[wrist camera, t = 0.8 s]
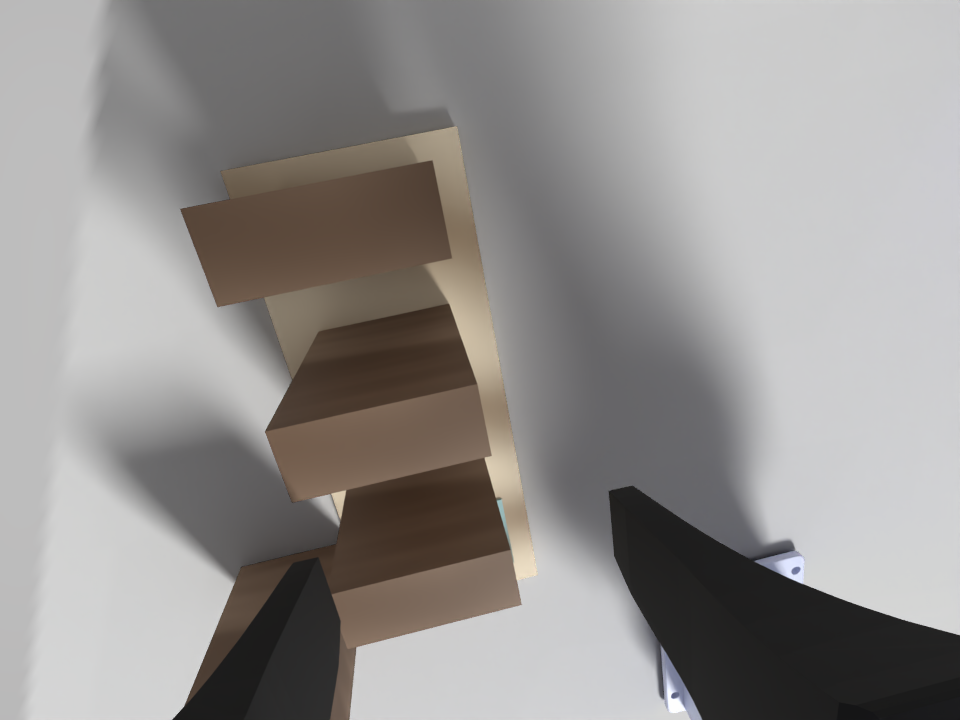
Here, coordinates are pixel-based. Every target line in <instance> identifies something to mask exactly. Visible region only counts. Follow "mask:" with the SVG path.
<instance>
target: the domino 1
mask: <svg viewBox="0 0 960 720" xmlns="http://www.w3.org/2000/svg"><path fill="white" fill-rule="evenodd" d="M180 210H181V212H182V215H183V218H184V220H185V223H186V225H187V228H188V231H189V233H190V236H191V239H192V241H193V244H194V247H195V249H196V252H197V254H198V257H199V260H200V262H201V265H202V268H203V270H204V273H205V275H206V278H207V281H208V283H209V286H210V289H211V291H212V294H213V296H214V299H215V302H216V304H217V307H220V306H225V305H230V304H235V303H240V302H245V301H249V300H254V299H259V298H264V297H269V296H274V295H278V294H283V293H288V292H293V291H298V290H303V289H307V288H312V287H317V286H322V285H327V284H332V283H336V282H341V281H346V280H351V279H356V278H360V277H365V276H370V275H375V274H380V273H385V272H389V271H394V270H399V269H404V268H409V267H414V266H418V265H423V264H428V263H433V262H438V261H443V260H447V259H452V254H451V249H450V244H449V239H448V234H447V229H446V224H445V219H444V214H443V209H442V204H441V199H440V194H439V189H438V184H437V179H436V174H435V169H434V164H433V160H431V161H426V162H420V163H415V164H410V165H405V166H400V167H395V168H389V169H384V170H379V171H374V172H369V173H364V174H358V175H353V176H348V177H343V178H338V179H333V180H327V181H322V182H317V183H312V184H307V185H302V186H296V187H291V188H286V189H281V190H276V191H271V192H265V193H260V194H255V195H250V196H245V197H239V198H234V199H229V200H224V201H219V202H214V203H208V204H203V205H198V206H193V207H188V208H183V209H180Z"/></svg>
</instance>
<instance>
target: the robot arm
mask: <svg viewBox="0 0 960 720" xmlns="http://www.w3.org/2000/svg"><path fill="white" fill-rule="evenodd" d="M609 499H610V511H611V523H612V534H613V546H614V556H615V559H616V561H617V563H618V566H619V568H620V570H621V573H622V575H623V577H624V579H625V582H626V584H627V586H628V588H629V590H630V593H631V595H632V596H633V598H634V600H635V602H636V603H637V605H638V607H639V608H640V610H641V612H642V614H643V615H644V617H645V619H646V620H647V622H648V624H649V625H650V627H651V629H652V630H653V632H654V634H655V636H656V637H657V639H658V641H659V642H660V644H661V657H662V671H663V685H664V699H665V705H666V708H667V710H668V711H669V712H671V713H676V712H680V711H684V710H686V711H687V713H688V715H689V717H690V719H691V720H960V635H956V634H953V633H949V632H945V631H942V630H938V629H934V628H930V627H927V626H923V625H919V624H915V623H912V622H908V621H905V620H901V619H898V618H895V617H892V616H889V615H886V614H883V613H880V612H877V611H874V610H871V609H867V608H864V607H862V606H859V605H856V604H853V603H850V602H848V601H845V600H842V599H839V598H837V597H834V596H832V595H829V594H826V593H824V592H821V591H819V590H816V589H814V588H811V587H809V586H806V585H804V584H803V576H804V557H803V556H802V555H801V554H800V553H799V552H797V551H791V552H787V553H783V554H779V555H775V556H771V557H767V558H763V559H760V560H756V561H752V560H750V559H748V558H747V557H745V556H743V555H741V554H739V553H737V552H735V551H734V550H732V549H730V548H728V547H727V546H725V545H723V544H721V543H719V542H718V541H716V540H714V539H713V538H711V537H709V536H708V535H706V534H704V533H703V532H701V531H699V530H698V529H696V528H695V527H693V526H692V525H690V524H688V523H687V522H685V521H684V520H682V519H681V518H679V517H678V516H676V515H675V514H673V513H672V512H670V511H669V510H667V509H666V508H664V507H663V506H661V505H660V504H658V503H657V502H656V501H654V500H653V499H651V498H650V497H648V496H647V495H645V494H644V493H642V492H641V491H640V490H638V489H637V488H635V487H634V486H629V487H624V488H620V489H615V490H611V491H609ZM340 629H341V620H340V617H339V614H338V611H337V608H336V606H335V603H334V600H333V597H332V594H331V591H330V588H329V586H328V583H327V580H326V577H325V574H324V571H323V568H322V566H321V563H320V560H319V557H316V558H312V559H307V560H303V561H298V562H294V563H292V565H291V566H290V568H289V569H288V570H287V572H286V573H285V575H284V576H283V577H282V579H281V580H280V582H279V583H278V585H277V586H276V587H275V589H274V590H273V592H272V593H271V595H270V596H269V598H268V599H267V601H266V602H265V603H264V605H263V606H262V608H261V609H260V611H259V612H258V613H257V615H256V616H255V618H254V619H253V620H252V622H251V623H250V625H249V626H248V627H247V629H246V630H245V632H244V633H243V634H242V636H241V637H240V638H239V640H238V641H237V643H236V644H235V645H234V646H233V648H232V649H231V650H230V652H229V653H228V654H227V655H226V657H225V658H224V659H223V661H222V662H221V663H220V664H219V666H218V667H217V668H216V669H215V671H214V672H213V673H212V675H211V676H210V677H209V678H208V680H207V681H206V682H205V683H204V684H203V686H202V687H201V688H200V689H199V690H198V691H197V693H196V694H195V695H194V696H193V697H192V698H191V700H190V701H189V702H188V703H187V704H186V705H185V706H184V707H183V709H182V710H181V711H180V712H179V713H178V714H177V715H176V716H175V717H174V719H173V720H330V717H331V711H332V705H333V699H334V693H335V687H336V680H337V674H338V667H339V653H340Z"/></svg>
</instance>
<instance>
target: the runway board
mask: <svg viewBox="0 0 960 720" xmlns="http://www.w3.org/2000/svg"><path fill="white" fill-rule="evenodd" d="M431 160H433V164H434V169H435V174H436V179H437V184H438V189H439V194H440V199H441V204H442V209H443V214H444V219H445V224H446V229H447V234H448V239H449V244H450V249H451V254H452V259H447V260H443V261H438V262H433V263H428V264H423V265H418V266H414V267H409V268H404V269H399V270H394V271H389V272H385V273H380V274H375V275H370V276H365V277H360V278H356V279H351V280H346V281H341V282H336V283H332V284H327V285H322V286H317V287H312V288H307V289H303V290H298V291H293V292H288V293H283V294H278V295H274V296H269V297H264V299H265V302H266V305H267V308H268V311H269V314H270V317H271V320H272V323H273V326H274V328H275V331H276V334H277V337H278V340H279V343H280V346H281V349H282V352H283V355H284V358H285V360H286V363H287V366H288V369H289V372H290V375H291V378H292V380H293V378H294V376H295V375H296V373H297V371H298V369H299V367H300V365H301V363H302V362H303V360H304V358H305V356H306V354H307V352H308V350H309V348H310V347H311V345H312V343H313V341H314V339H315V337H316V335H317V333H318V332H319V331H323V330H328V329H332V328H337V327H342V326H347V325H351V324H356V323H361V322H365V321H370V320H375V319H379V318H384V317H389V316H393V315H398V314H403V313H408V312H412V311H417V310H422V309H426V308H431V307H436V306H440V305H445V304H450V307H451V310H452V313H453V316H454V319H455V322H456V324H457V327H458V330H459V333H460V336H461V339H462V341H463V344H464V347H465V350H466V353H467V356H468V359H469V361H470V364H471V367H472V370H473V373H474V376H475V378H476V381H477V384H478V389H479V394H480V399H481V404H482V409H483V414H484V419H485V424H486V429H487V434H488V439H489V444H490V449H491V454H492V456H490V457H485V462H486V465H487V469H488V472H489V476H490V479H491V483H492V486H493V490H494V493H495V497H496V500H497V504H498V507H499V511H500V514H501V518H502V521H503V525H504V528H505V532H506V535H507V539H508V542H509V546H510V549H511V554H512V559H513V564H514V569H515V574H516V579H517V580H520V579H524V578H528V577H532V576H536V575H538V573H537V568H536V562H535V557H534V551H533V546H532V540H531V535H530V529H529V523H528V518H527V512H526V507H525V501H524V496H523V490H522V484H521V479H520V473H519V468H518V462H517V457H516V451H515V446H514V440H513V434H512V429H511V423H510V418H509V412H508V407H507V401H506V395H505V390H504V384H503V379H502V373H501V368H500V362H499V357H498V351H497V345H496V340H495V334H494V329H493V323H492V318H491V312H490V306H489V301H488V295H487V290H486V284H485V279H484V273H483V268H482V262H481V256H480V251H479V245H478V240H477V234H476V229H475V223H474V217H473V212H472V206H471V201H470V195H469V190H468V184H467V179H466V173H465V167H464V162H463V156H462V151H461V145H460V140H459V134H458V128H457V126H456V127H450V128H445V129H440V130H435V131H429V132H424V133H419V134H413V135H408V136H403V137H398V138H392V139H387V140H382V141H376V142H371V143H366V144H361V145H355V146H350V147H345V148H340V149H334V150H329V151H324V152H318V153H313V154H308V155H303V156H297V157H292V158H287V159H282V160H276V161H271V162H266V163H260V164H255V165H250V166H245V167H239V168H234V169H229V170H224V171H221V174H222V177H223V180H224V183H225V186H226V189H227V192H228V195H229V198H230V199H234V198H239V197H245V196H250V195H255V194H260V193H265V192H271V191H276V190H281V189H286V188H291V187H296V186H302V185H307V184H312V183H317V182H322V181H327V180H333V179H338V178H343V177H348V176H353V175H358V174H364V173H369V172H374V171H379V170H384V169H389V168H395V167H400V166H405V165H410V164H415V163H420V162H426V161H431ZM345 494H346V490H345V491H340V492H336V493H332V497H333V500H334V503H335V506H336V509H337V512H338V515H339V518H340V520H341V516H342V510H343V505H344V499H345Z"/></svg>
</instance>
